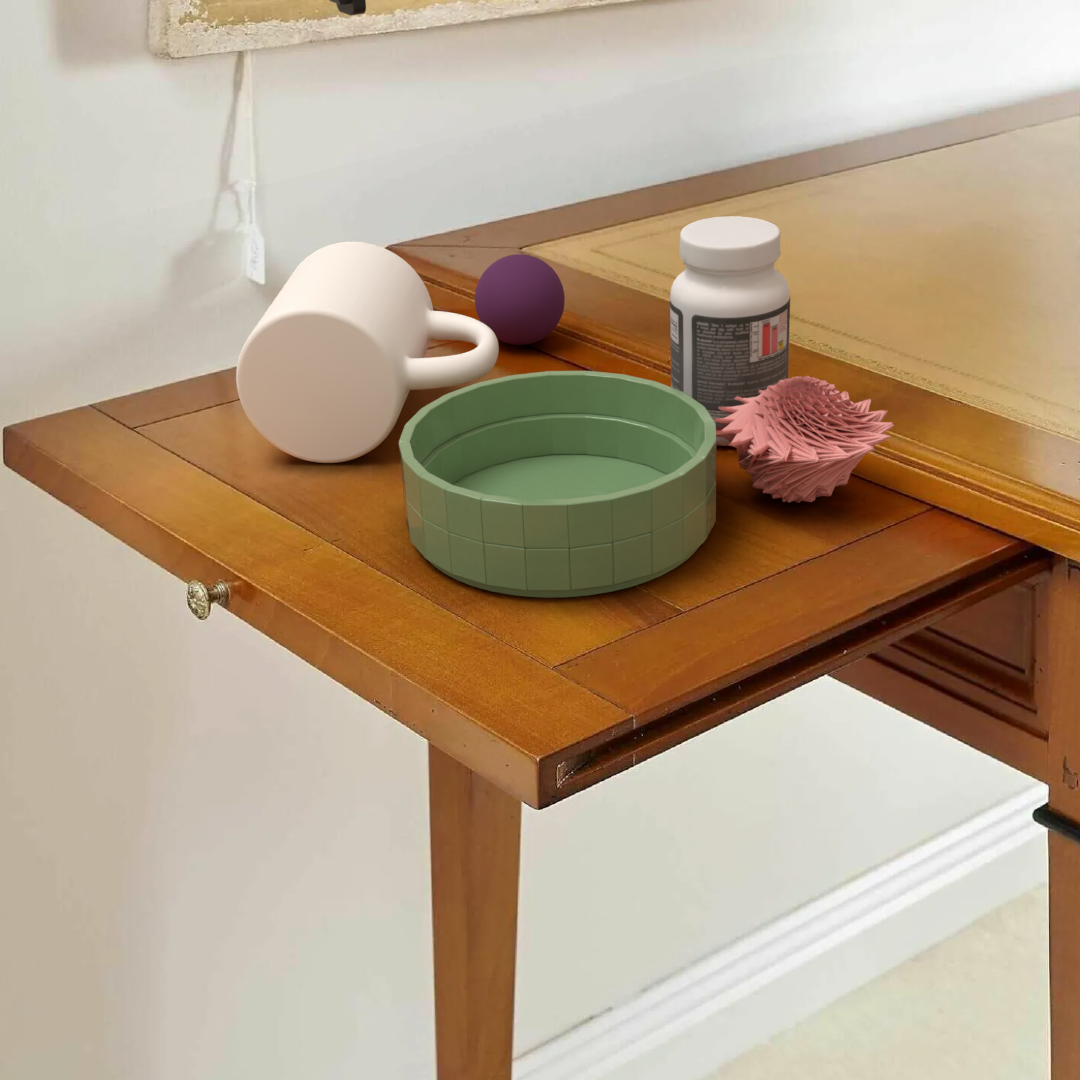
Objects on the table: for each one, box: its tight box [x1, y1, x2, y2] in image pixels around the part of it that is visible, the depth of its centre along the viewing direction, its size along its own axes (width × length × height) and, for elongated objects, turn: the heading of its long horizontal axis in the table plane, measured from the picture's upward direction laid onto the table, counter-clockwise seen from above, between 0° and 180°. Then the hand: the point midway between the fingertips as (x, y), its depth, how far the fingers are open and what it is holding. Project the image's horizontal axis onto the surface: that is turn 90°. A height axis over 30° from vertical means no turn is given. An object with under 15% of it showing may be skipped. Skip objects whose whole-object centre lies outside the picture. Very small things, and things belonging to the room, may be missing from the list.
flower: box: [713, 375, 895, 504], centre depth 73 cm, size 8×8×6 cm
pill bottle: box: [669, 215, 791, 447], centre depth 78 cm, size 6×6×10 cm
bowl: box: [398, 370, 717, 599], centre depth 71 cm, size 14×14×4 cm
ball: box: [474, 253, 566, 346], centre depth 91 cm, size 5×5×5 cm
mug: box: [235, 241, 500, 464], centre depth 81 cm, size 12×10×8 cm
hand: (426, 1), depth 86 cm, fingers open, 8 cm apart
